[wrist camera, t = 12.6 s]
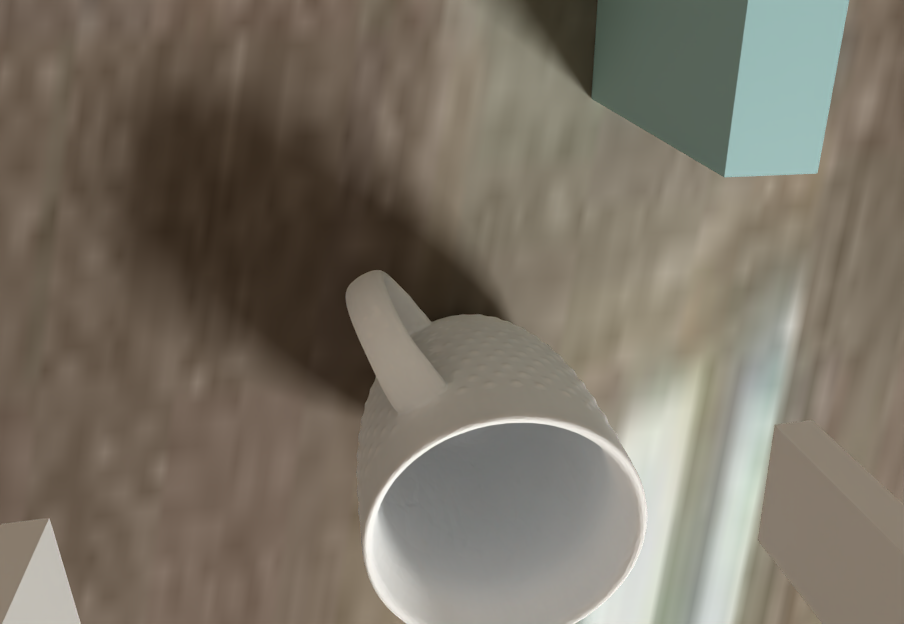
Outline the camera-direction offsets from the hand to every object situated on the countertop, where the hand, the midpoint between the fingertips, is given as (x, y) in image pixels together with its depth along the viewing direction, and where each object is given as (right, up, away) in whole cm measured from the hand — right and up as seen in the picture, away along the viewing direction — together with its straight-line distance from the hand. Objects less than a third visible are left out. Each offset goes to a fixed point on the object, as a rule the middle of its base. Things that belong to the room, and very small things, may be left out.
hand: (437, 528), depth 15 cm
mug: (0, +2, +27) cm, 27 cm away
